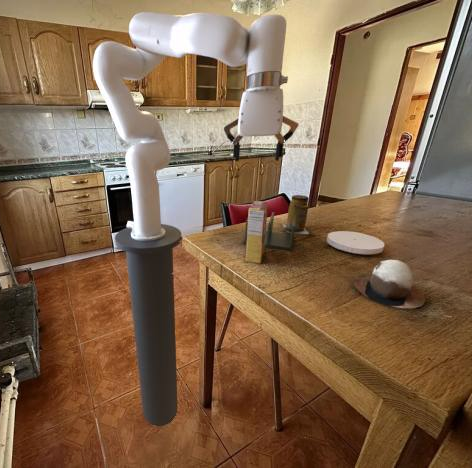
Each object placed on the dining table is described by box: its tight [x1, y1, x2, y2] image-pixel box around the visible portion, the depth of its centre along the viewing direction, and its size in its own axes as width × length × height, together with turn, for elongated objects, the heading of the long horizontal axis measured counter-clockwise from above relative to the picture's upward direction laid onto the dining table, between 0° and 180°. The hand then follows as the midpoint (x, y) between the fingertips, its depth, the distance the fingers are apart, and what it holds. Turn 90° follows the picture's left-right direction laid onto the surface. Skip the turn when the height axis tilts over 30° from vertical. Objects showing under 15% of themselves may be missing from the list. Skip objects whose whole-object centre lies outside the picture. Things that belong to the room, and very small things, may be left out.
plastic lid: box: [326, 230, 386, 255], centre depth 77 cm, size 14×14×2 cm
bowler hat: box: [353, 259, 426, 309], centre depth 56 cm, size 12×10×10 cm
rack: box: [243, 211, 296, 252], centre depth 83 cm, size 14×12×8 cm
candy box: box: [245, 200, 269, 265], centre depth 71 cm, size 9×4×15 cm, turn 154°
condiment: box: [282, 194, 310, 235], centre depth 90 cm, size 7×8×12 cm
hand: (256, 160), depth 66 cm, fingers open, 9 cm apart
